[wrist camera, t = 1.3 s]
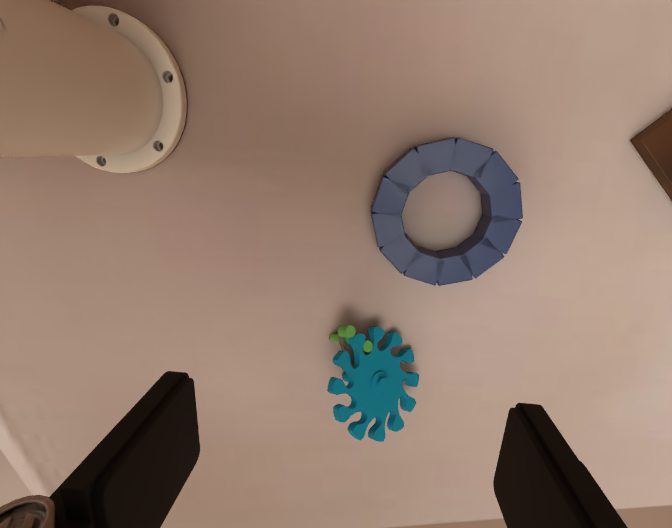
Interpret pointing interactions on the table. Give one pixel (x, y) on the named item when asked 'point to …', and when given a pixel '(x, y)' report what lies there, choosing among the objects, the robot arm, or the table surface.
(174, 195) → the table surface
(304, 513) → the table surface
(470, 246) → the ring
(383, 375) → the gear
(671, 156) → the stand
